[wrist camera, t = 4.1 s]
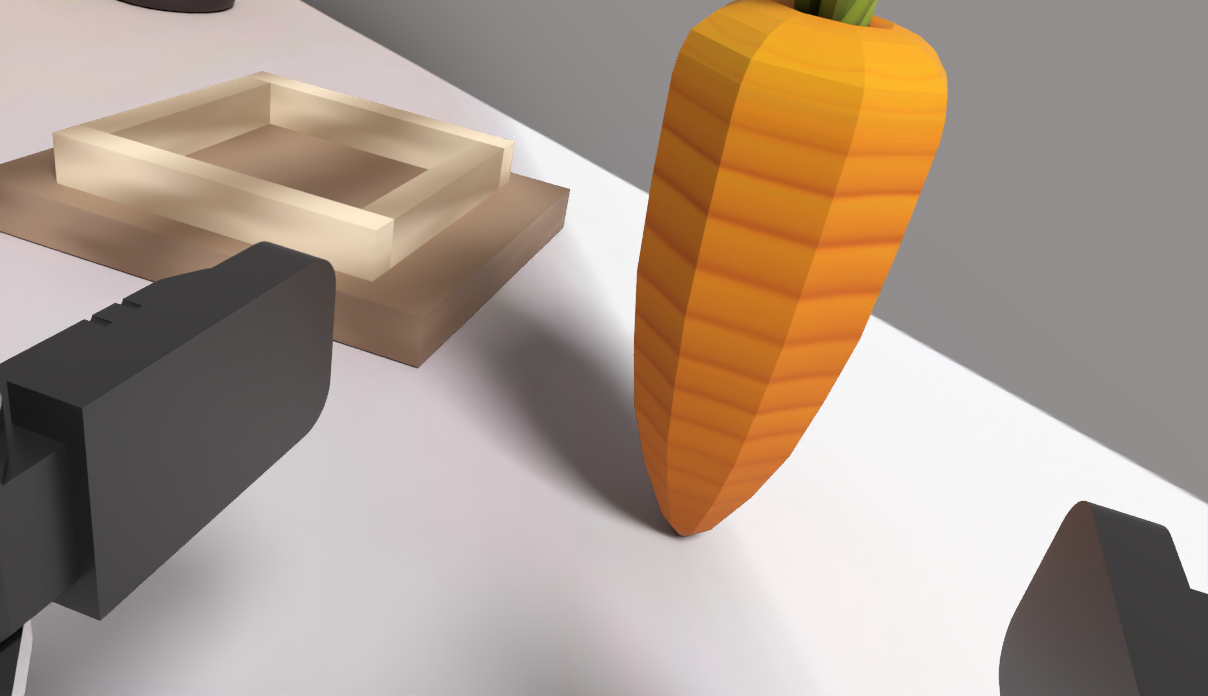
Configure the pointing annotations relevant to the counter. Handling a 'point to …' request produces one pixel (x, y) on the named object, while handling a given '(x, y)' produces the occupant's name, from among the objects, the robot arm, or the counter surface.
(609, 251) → the counter surface
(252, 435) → the robot arm
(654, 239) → the carrot
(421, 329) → the beige wooden tray
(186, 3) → the bottle
